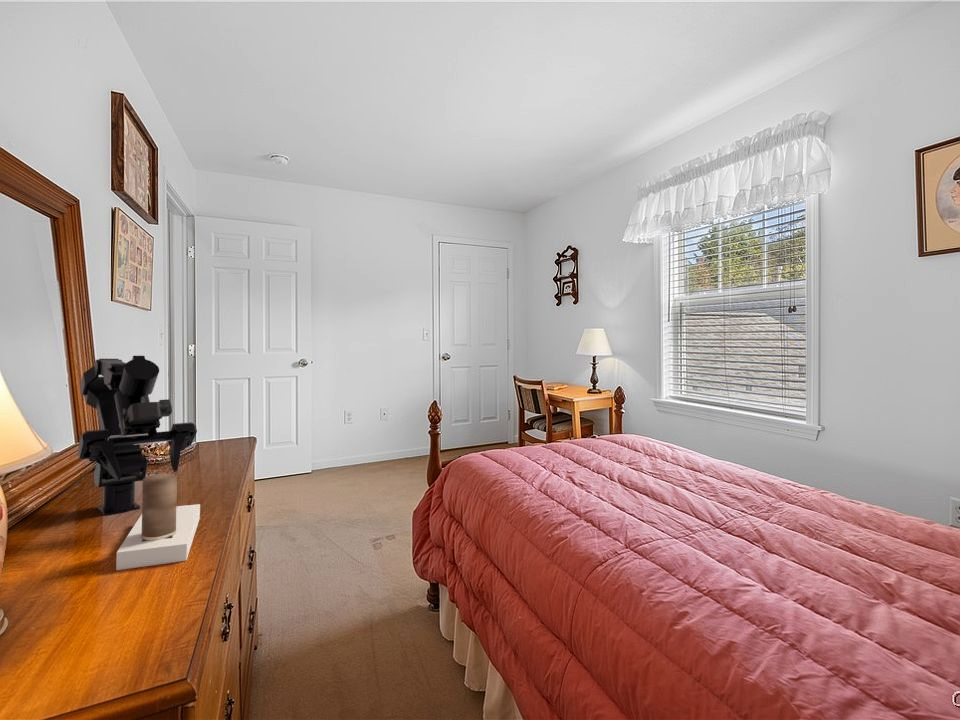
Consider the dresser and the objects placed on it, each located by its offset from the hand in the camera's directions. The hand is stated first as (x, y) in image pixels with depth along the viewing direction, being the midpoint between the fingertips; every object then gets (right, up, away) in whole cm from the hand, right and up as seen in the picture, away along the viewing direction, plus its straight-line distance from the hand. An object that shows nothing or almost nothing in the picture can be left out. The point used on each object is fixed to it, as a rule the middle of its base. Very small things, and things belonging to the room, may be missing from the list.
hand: (148, 475), depth 91 cm
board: (+3, -13, 0) cm, 13 cm away
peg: (+5, -12, -5) cm, 14 cm away
